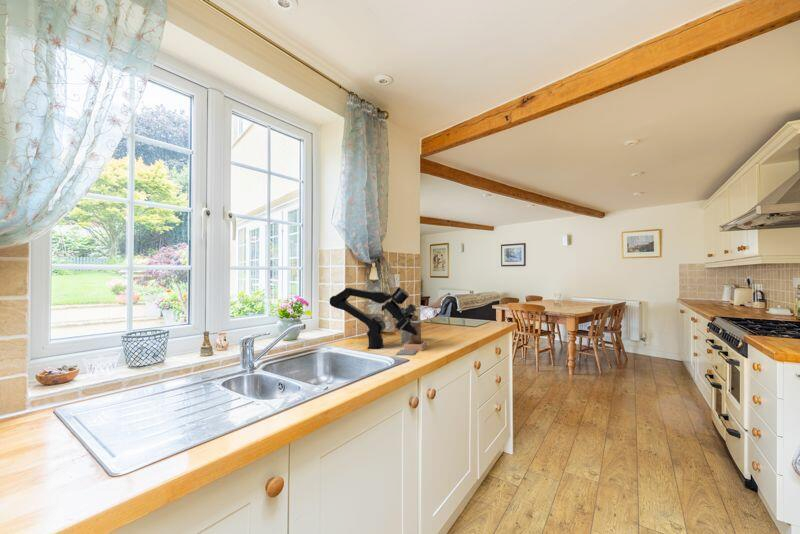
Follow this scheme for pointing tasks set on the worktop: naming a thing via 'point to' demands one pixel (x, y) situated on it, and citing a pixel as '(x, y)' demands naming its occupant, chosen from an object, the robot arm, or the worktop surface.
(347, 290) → the robot arm
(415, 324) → the pepper mill
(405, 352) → the slate coaster
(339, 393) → the worktop surface
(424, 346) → the holder
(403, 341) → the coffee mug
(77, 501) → the worktop surface
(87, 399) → the worktop surface
